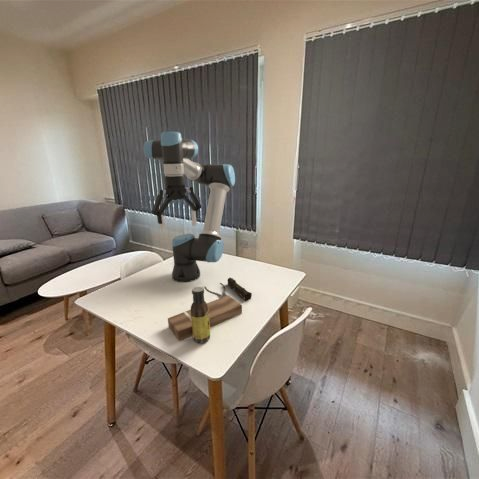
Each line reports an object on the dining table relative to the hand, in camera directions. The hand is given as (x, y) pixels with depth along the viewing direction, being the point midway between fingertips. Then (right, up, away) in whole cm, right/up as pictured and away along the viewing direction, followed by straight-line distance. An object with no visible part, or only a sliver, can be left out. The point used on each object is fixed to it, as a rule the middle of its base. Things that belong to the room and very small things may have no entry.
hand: (179, 228), depth 107 cm
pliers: (+16, -30, +20) cm, 40 cm away
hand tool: (+23, -30, +19) cm, 43 cm away
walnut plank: (+11, -37, -2) cm, 39 cm away
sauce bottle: (+11, -40, -12) cm, 44 cm away
